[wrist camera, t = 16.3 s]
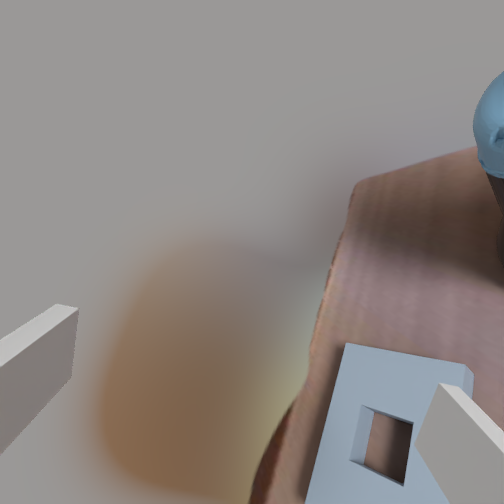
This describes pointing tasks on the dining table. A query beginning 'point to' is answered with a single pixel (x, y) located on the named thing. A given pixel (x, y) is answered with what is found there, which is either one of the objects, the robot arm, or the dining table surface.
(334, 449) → the cover plate
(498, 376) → the dining table surface
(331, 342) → the dining table surface
